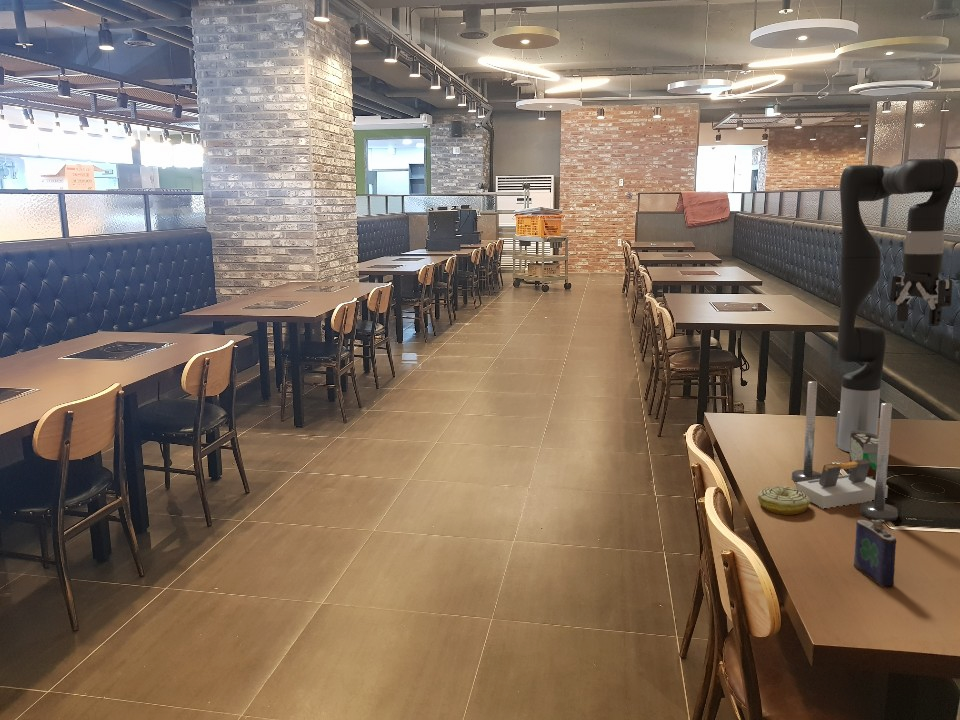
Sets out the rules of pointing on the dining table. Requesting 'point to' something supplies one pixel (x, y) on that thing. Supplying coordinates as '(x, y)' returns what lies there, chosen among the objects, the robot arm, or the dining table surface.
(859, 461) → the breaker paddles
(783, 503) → the decorated donut
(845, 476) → the switch panel
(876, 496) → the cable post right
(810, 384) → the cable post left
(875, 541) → the flask
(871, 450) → the food container
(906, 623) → the dining table surface
